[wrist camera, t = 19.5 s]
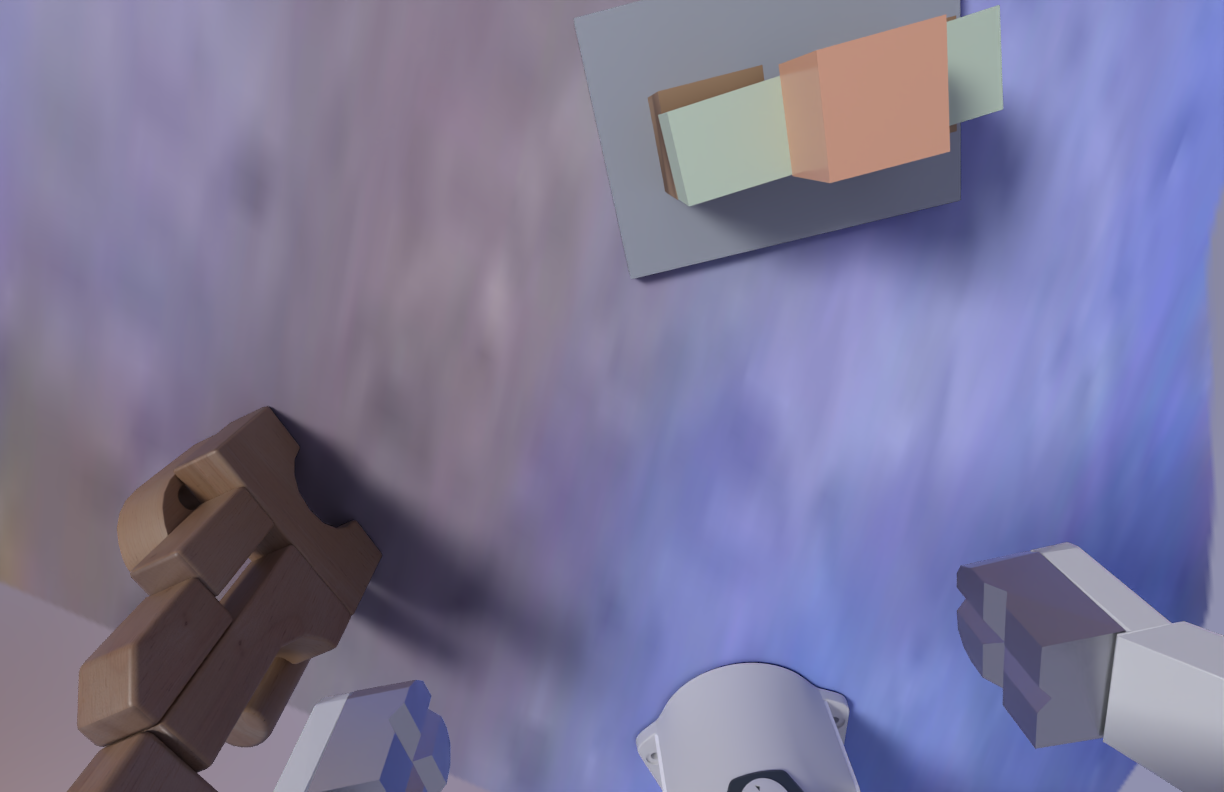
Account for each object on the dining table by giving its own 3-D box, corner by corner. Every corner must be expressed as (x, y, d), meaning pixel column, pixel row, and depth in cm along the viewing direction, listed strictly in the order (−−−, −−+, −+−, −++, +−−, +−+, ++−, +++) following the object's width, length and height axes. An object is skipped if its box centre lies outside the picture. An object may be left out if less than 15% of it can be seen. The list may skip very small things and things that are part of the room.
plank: (957, 112, 29) (1003, 109, 26) (678, 199, 31) (689, 206, 27) (951, 20, 28) (999, 4, 25) (657, 115, 29) (667, 112, 26)
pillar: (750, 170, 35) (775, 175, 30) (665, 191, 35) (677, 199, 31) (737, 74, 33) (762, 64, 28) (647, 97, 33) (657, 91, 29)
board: (949, 198, 37) (960, 200, 36) (629, 275, 38) (631, 279, 37) (946, -76, 32) (959, -84, 31) (573, 22, 33) (573, 18, 32)
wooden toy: (186, 442, 41) (-309, 823, 18) (268, 403, 41) (-145, 751, 18) (322, 602, 47) (73, 1043, 24) (396, 570, 46) (210, 998, 23)
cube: (893, 149, 27) (950, 151, 23) (792, 176, 27) (829, 183, 23) (886, 34, 25) (946, 14, 21) (778, 64, 25) (816, 50, 21)
